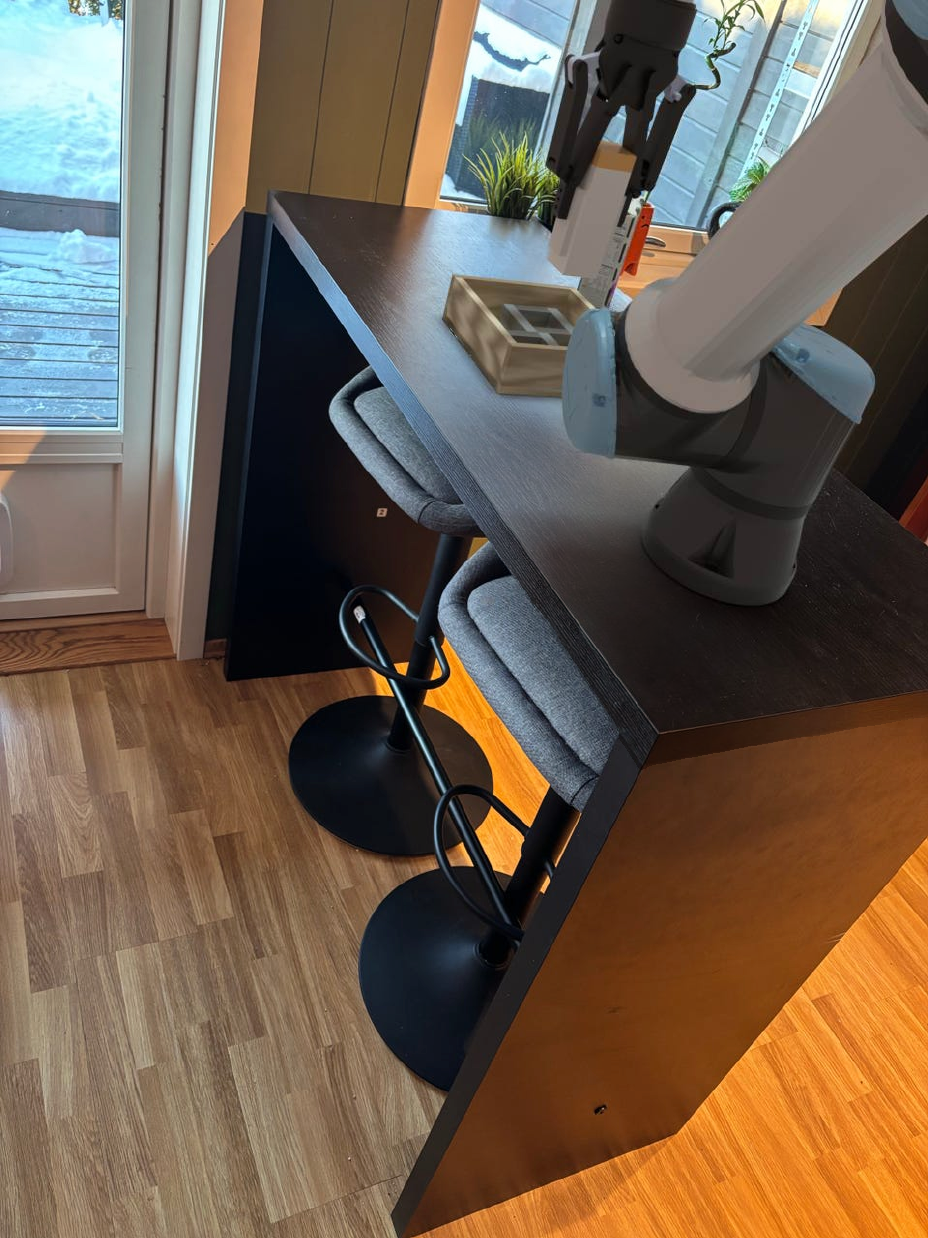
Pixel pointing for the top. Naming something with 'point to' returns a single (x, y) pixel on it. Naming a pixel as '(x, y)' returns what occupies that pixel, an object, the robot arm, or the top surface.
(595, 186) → the plug
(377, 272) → the top surface
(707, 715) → the top surface
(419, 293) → the top surface
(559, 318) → the walled box
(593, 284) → the candy bar box
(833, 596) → the top surface
